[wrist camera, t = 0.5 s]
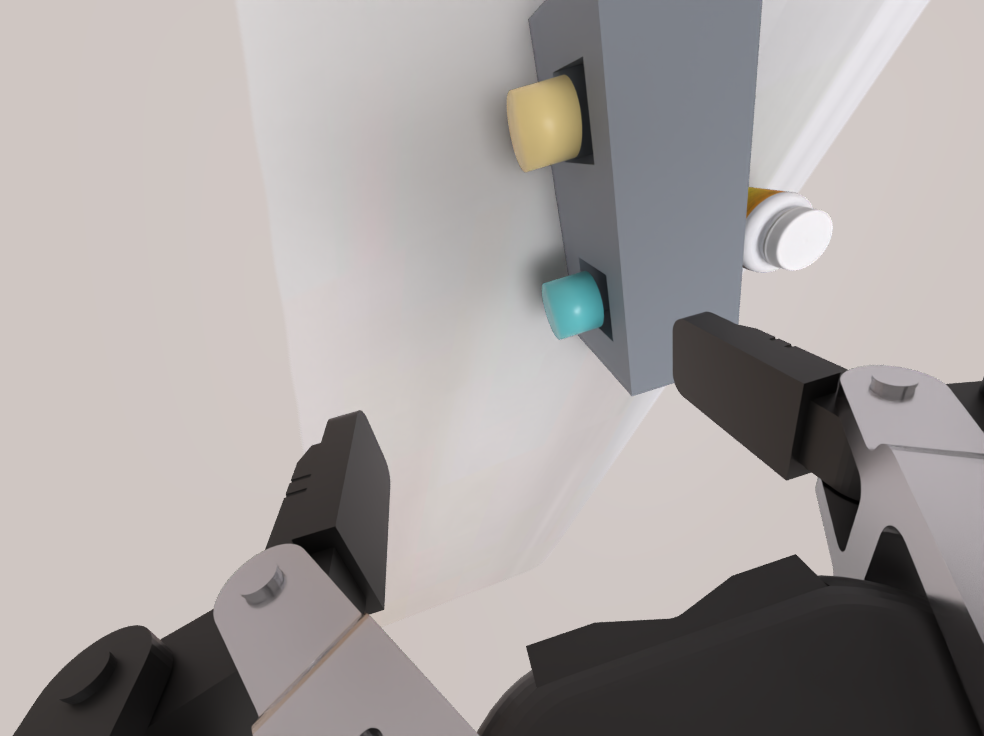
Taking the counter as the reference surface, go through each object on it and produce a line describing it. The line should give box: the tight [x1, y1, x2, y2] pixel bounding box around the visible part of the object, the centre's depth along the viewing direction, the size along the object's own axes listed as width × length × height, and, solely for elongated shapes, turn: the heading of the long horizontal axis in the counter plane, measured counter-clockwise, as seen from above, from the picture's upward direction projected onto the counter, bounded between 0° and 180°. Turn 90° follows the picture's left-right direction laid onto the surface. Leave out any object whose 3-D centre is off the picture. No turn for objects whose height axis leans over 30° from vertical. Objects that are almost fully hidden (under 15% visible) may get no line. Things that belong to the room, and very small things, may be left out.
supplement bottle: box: [743, 187, 833, 273], centre depth 31 cm, size 6×6×10 cm
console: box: [528, 0, 762, 396], centre depth 28 cm, size 8×24×11 cm, turn 14°
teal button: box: [542, 271, 604, 340], centre depth 30 cm, size 3×4×4 cm
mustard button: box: [507, 75, 582, 172], centre depth 24 cm, size 3×4×4 cm
